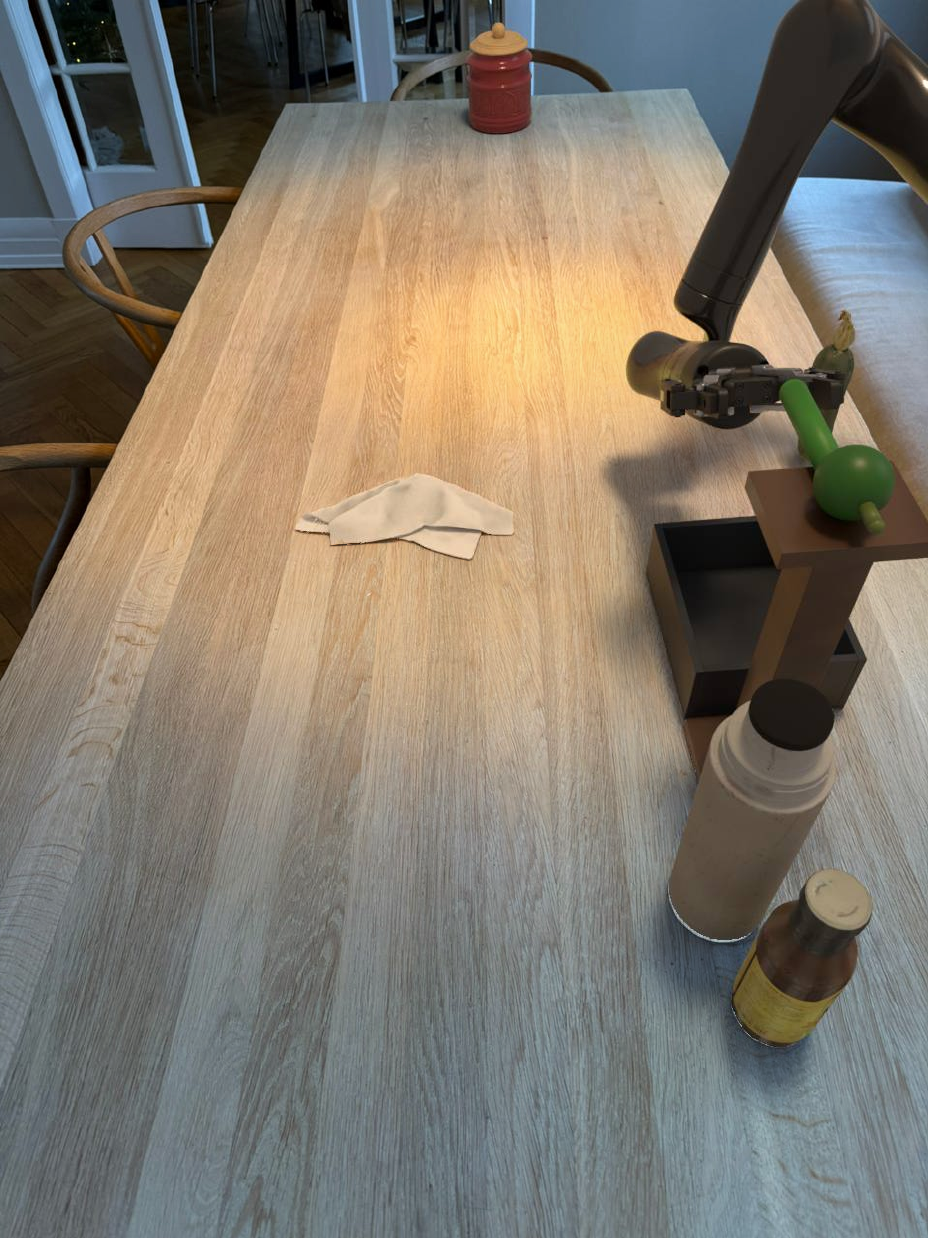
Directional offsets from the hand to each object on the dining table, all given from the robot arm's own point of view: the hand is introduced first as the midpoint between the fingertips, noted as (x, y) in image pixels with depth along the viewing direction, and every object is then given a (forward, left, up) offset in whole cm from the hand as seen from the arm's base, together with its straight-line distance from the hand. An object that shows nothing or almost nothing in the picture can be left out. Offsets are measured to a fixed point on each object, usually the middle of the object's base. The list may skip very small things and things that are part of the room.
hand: (779, 400), depth 67 cm
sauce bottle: (+4, +35, -31) cm, 47 cm away
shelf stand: (0, +13, -31) cm, 34 cm away
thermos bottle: (+6, +26, -31) cm, 41 cm away
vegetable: (-18, -28, -31) cm, 46 cm away
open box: (-3, -2, -31) cm, 31 cm away
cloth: (+31, -24, -31) cm, 50 cm away
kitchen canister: (+10, -140, -31) cm, 144 cm away
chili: (0, +9, +1) cm, 10 cm away
